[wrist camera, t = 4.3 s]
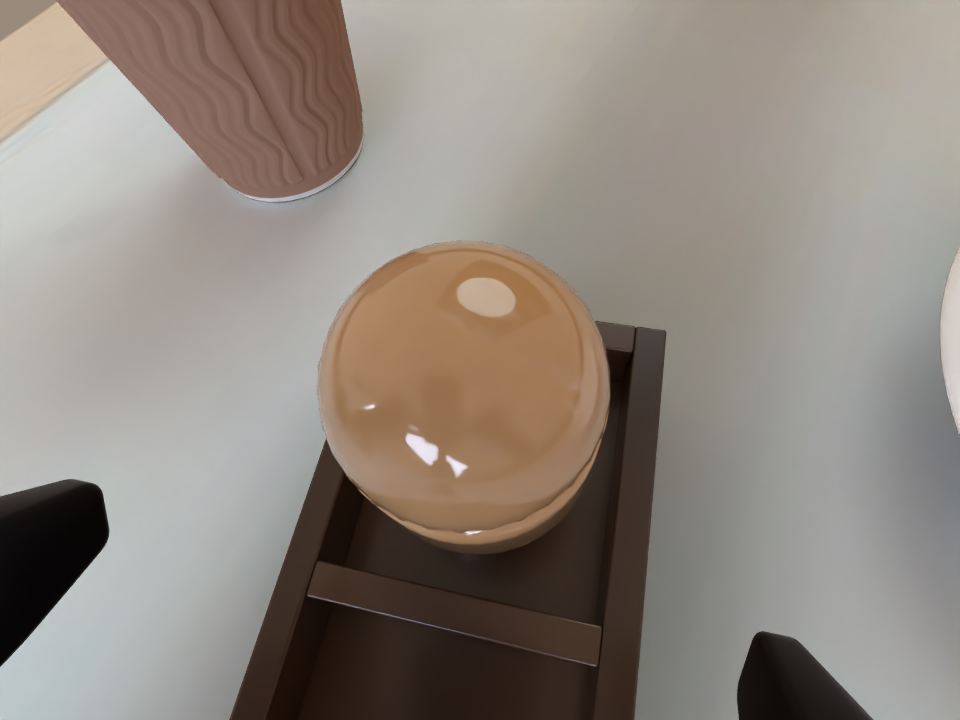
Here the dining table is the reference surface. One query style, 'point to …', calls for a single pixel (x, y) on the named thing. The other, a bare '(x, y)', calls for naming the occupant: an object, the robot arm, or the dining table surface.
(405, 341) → the egg
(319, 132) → the coffee cup
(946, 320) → the candlestick
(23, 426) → the dining table surface
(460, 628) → the dark brown wooden tray
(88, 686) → the dining table surface
